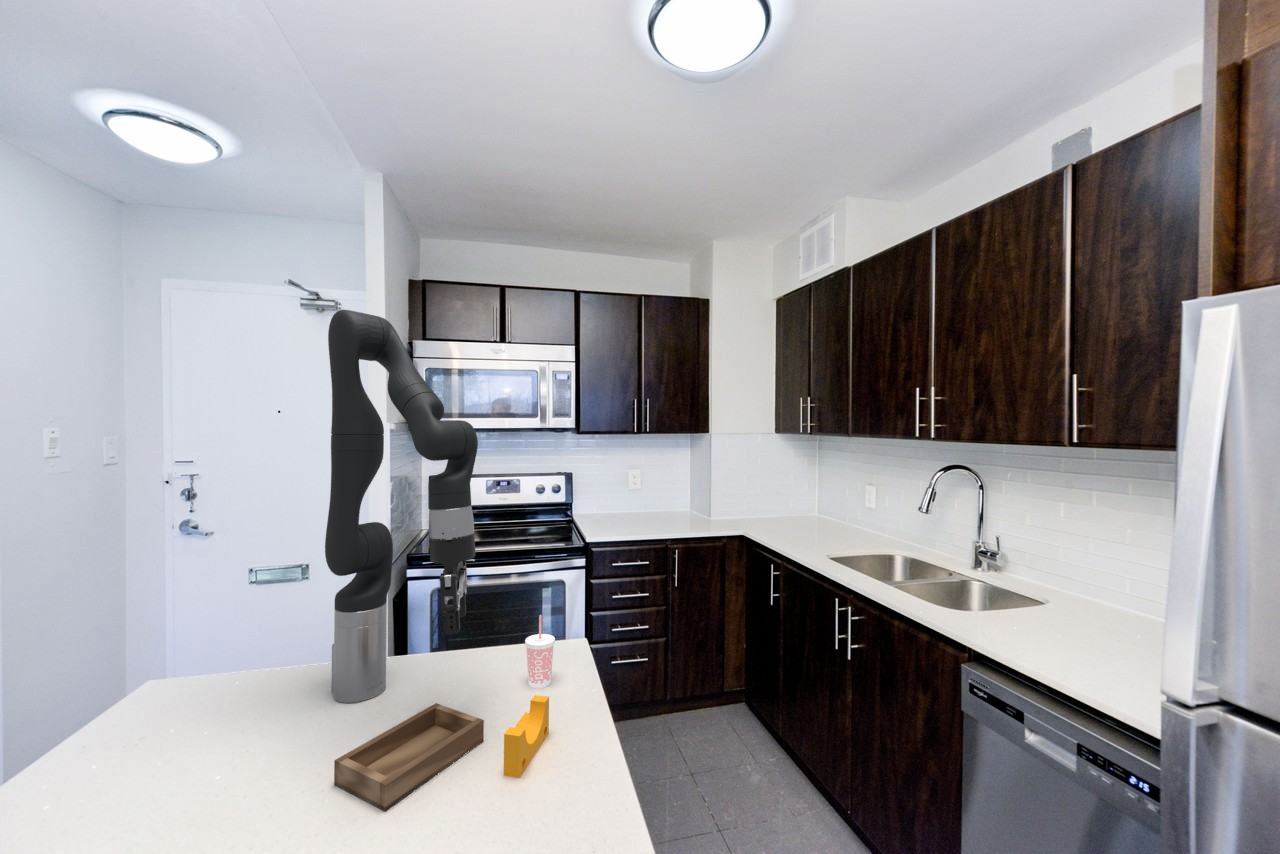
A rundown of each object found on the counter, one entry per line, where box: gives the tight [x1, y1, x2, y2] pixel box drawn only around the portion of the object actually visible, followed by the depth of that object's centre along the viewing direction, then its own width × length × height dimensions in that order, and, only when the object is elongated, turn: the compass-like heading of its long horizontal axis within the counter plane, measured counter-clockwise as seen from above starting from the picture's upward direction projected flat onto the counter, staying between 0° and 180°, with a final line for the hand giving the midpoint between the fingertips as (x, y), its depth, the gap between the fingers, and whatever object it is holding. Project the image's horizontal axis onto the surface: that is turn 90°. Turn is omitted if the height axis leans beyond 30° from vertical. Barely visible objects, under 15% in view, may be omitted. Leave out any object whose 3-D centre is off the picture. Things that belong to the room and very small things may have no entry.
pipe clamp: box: [503, 694, 550, 779], centre depth 85 cm, size 12×4×6 cm, turn 169°
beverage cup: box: [524, 614, 556, 689], centre depth 108 cm, size 6×6×14 cm
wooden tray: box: [333, 702, 485, 812], centre depth 82 cm, size 11×18×4 cm, turn 152°
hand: (456, 624), depth 92 cm, fingers open, 8 cm apart
